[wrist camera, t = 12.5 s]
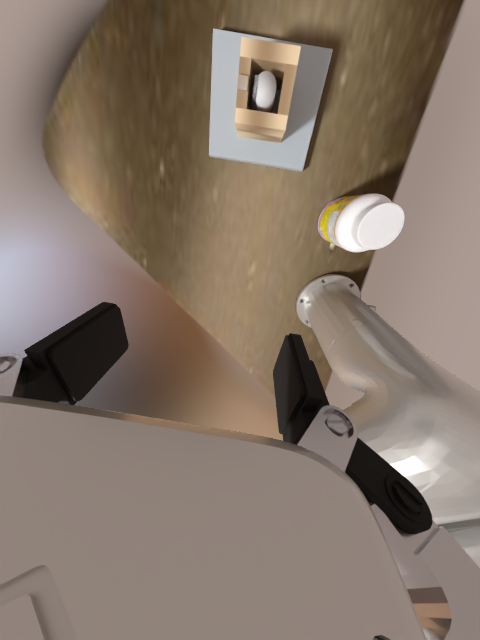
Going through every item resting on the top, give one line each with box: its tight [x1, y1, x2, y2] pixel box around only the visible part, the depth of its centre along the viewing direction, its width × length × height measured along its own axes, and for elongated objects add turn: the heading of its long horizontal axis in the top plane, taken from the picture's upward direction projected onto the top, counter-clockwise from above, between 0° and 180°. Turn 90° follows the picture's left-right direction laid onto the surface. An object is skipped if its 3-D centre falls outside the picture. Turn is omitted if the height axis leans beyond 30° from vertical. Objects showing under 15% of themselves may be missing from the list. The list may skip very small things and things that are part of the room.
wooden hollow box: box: [235, 37, 301, 143], centre depth 22 cm, size 6×6×5 cm
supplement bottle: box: [318, 194, 405, 252], centre depth 25 cm, size 7×7×13 cm
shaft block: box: [209, 29, 333, 172], centre depth 22 cm, size 14×11×6 cm
